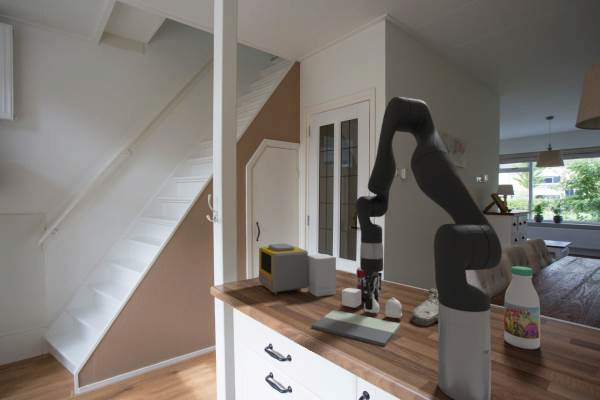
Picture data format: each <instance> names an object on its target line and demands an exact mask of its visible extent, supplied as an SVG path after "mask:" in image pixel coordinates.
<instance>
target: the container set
mask: <svg viewBox="0 0 600 400" xmlns="http://www.w3.org/2000/svg"><path fill="white" fill-rule="evenodd" d="M372 303H373V308H372V310H368V309H366V308H365V303H363V310H364V311H365V312H366V313H370V314H371V313H372V314H373V313H379V312H380V304H379V302H378V303H377V301H376V300H375V298H374V294H373V297H372ZM341 305H342V306H345V307H349V308H354V309H355V308H358V307H359V306H360V305H362V303H361V290H360V289H357V288H355V287H347V288H344V289H342V290H341ZM402 308H403V307H402V304H401V302H400V301H399V300H398V299H396V298H395V297H391V298H390V299H388V300H387V301H386V303H385V311H384V315H385V316H386V317H389V318H396V319H397V318H402V317H403V313H402Z"/></svg>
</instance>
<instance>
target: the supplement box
mask: <svg viewBox="0 0 600 400" xmlns="http://www.w3.org/2000/svg"><path fill="white" fill-rule="evenodd" d="M307 291H308V292H309V293H310V294H312V295H313V296H315V297H317V298H318V297H324V296H333V295H336V294H337V258H336V257H335V256H332V255H330V254H327V253H322V254H321V253H320V254H308V287H307Z"/></svg>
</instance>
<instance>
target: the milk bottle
mask: <svg viewBox="0 0 600 400" xmlns="http://www.w3.org/2000/svg"><path fill="white" fill-rule="evenodd" d="M510 273H511V276H512V277H511V282H510V283H509V285H508V287H507V289H506V291H505V294H504V301H503V302H504V306H503V307H504V308H503V309H504V310H503V311H504V312H503V313H504V314H503V316H504V317H503V318H504V319H503V320H504V321H503V324H504V325H503V326H504V327H503V329H504V331H503V334H504V335H503V337H504V340H505V342H506V343H507V344H510V345H512V346H513V347H515V348H516V347H517V348H521V349H525V350H536V349H539V347H540V346H541V307H540V306H541V303H540V298H539V295H538V292H537V291H536V289H535V287H534V284H533V282H532V281H533V280H532V278H533V275H534V274H533V269H532V268H530V267H527V266H520V265H518V266H516V265H515V266H511V268H510Z"/></svg>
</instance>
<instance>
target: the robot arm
mask: <svg viewBox="0 0 600 400" xmlns="http://www.w3.org/2000/svg"><path fill="white" fill-rule="evenodd" d="M436 127H437V126H436V124H435V121H434V118H433V116H432V112H431V109H430V108H429V106H428V104H427V103H426V102H425V101H423V100H422V99H417V98H416V99H415V98H410V97H405V96H404V97H403V96H394V97H392V98H391V99H390V100H389V102H388V103H387V105H386V108H385V110H384V114H383V117H382V122H381V128H380V132H379V133H380V134H379V138H378V143H377V144H378V145H377V150H376V157H375V161H374V164H373V168H372V170H371V174H370V177H369V179H368V183H367V189H368V190H369V192H370V193H372V194H374V195H373V196H372V195H371V196H370V195H363V196H360V197H358V198H357V200H356V202H355V204H354V205H355V206H354V207H355V209H354V210H355V212H356V216H357V219H358V224H359V228H360V249H359V258H360V261H359V262H360V263H359V264H360V265H359V266H360V269H361V270H363V271H365V276H364V279H361V289H362V297H365V303H364V304H365V308H366V309H368V310H372V308H373V303H372V297H373V294H374V298H375V300H376V301H377V303H378V304H379V294H380V291H381V290H382V278H383V277H382V276H383V274H382V271H384V246H383V245H384V244H383V228H382V226H381V225H380V224H375V223H373V222H372V220H371V218H380V217H384V216H385V215H386V214H387V211H388V209H389V199H390V190H391V187H392V184H393V182H394V179H395V178H396V177H395V176H396V172H397V163H396V158H395V155H394V150H393V141H394V138H395V137H394V136H395V133H397V132H400V133H409V134H411V135H412V137H414V139H415V143H416V146H415V148H414V150H413V151H412V152H413V153H412V155H411V159H410V168H411V172H412V175H413V177H414V179H415V182H416V184H417V186H418V188H419V189H420V191H422V193H423V194H424V195H426V197H427V198H428V199H430V200H431V201H433V202H434V203H435V204H437V205H438V206H439V207H440V208H441V209H443V210H444V211H445V212H446V213H447V214H448V215H449V216H450V218H451V219H452V220H453V222H454V223H446V224H445V223H444V224H441V225H440V226H439V227H438V228H437V229H436V231H435V234H434V240H433V256H434V276H435V277H434V278H435V287H436V289H437V291H438V321H437V322H438V323H437V325H438V326H437V327H438V328H437V329H438V330H437V332H438V333H437V334H438V335H437V346H438V349H437V352H438V353H437V356H438V357H437V358H438V359H437V363H438V364H437V365H438V368H437V370H438V371H437V377H438V378H437V380H438V384H437V385H438V387H439V389H440V391H441V392H442V393H443V394H445V395H446V396H447V397H449V398H451V399H453V400H491V395H492V394H491V393H492V392H491V391H492V390H491V389H492V387H491V385H492V379H491V378H492V375H491V374H492V360H491V359H492V343H491V296H490V293H489V292H488V291H487V290H485V289H483V288H482V287H478V286H476V285H473V284H471V283H469V282H468V281H467V280H468V279H467V272H466V271H482V270H483V271H484V270H491V269H494V268H496V267H498V265H499V264H500V262H501V260H502V258H503V257H502V256H503V250H502V244H501V241H500V239H499V236H498V234H497V232H496V230H495V228H494V227H493V225H492V224H491V222H490V220H489V219H488V218H487V217H486V215H485V213H484V212H483V211H482V210H481V208H480V207H479V205H478V204H477V202H476V201H475V199H474V198H473V196H472V194H471V192H470V191H469V189H468V187H467V186H466V184H465V182H464V181H463V178H462V177H461V175H460V173H459V171H458V168H457V167H456V164H455V162H454V161H453V159H452V157H451V155H450V153H449V151H448V150H447V148H446V146H445V144H444V143H443V140H442V138H441V136H440V134H439V131H438V129H437V128H436ZM370 291H371V292H370ZM367 292H368V294H367Z"/></svg>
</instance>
